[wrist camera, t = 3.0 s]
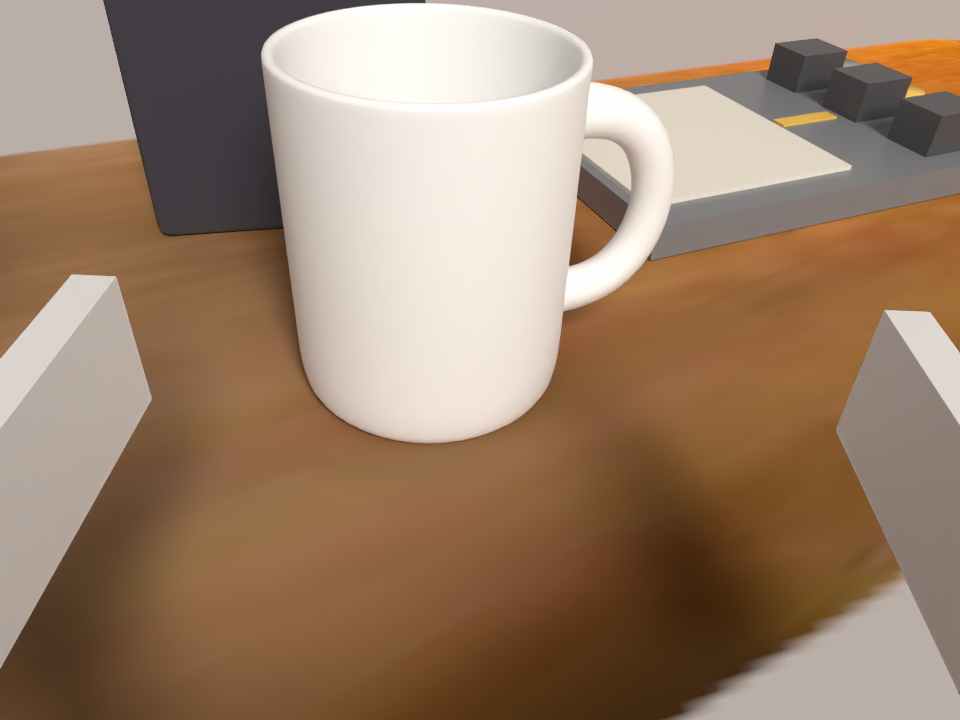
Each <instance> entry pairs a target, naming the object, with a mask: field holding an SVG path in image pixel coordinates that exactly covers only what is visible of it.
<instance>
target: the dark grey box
mask: <svg viewBox="0 0 960 720" xmlns="http://www.w3.org/2000/svg"><path fill="white" fill-rule="evenodd" d="M103 1H104V5H105V9H106V13H107V18H108V22H109V26H110V30H111V34H112V38H113V42H114V46H115V51H116V54H117V59H118V63H119V67H120V71H121V75H122V80H123V84H124V88H125V92H126V96H127V100H128V104H129V108H130V112H131V117H132V121H133V125H134V129H135V133H136V137H137V141H138V145H139V150H140V154H141V158H142V162H143V166H144V170H145V174H146V178H147V182H148V187H149V191H150V195H151V199H152V203H153V207H154V211H155V215H156V220H157V223H158V227H159V229H160V230H161V231H162V232H163V233H164V234H166V235H189V234H203V233H217V232H230V231H244V230H258V229H272V228H284V227H283V220H282V212H281V205H280V197H279V190H278V182H277V175H276V167H275V160H274V152H273V145H272V137H271V130H270V122H269V115H268V107H267V100H266V92H265V85H264V77H263V69H262V62H261V52H262V48H263V46H264V43H265V42H266V40H267V39H268V38H269V37H270V36H271V35H272V34H273V33H275V32H276V31H277V30H279V29H281V28H283V27H284V26H286V25H288V24H291V23H293V22H296V21H298V20H301V19H304V18H307V17H310V16H314V15H317V14H321V13H325V12H330V11H335V10H341V9H347V8H354V7H361V6H371V5H382V4H402V3H425V0H103Z"/></svg>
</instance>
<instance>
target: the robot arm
mask: <svg viewBox="0 0 960 720" xmlns="http://www.w3.org/2000/svg"><path fill="white" fill-rule="evenodd" d="M151 400H152V397H151V394H150V390H149V387H148V384H147V380H146V377H145V373H144V370H143V367H142V363H141V360H140V356H139V353H138V349H137V346H136V343H135V339H134V336H133V332H132V329H131V326H130V322H129V319H128V315H127V312H126V308H125V305H124V302H123V298H122V295H121V291H120V288H119V285H118V281H117V278H116V276H93V275H71V276H70V277H69V279H68V280H67V281H66V282H65V283H64V284H63V286H62V287H61V288H60V289H59V290H58V292H57V293H56V294H55V295H54V296H53V297H52V299H51V300H50V301H49V302H48V303H47V304H46V306H45V307H44V308H43V309H42V310H41V312H40V313H39V314H38V315H37V316H36V317H35V319H34V320H33V321H32V322H31V323H30V325H29V326H28V327H27V328H26V329H25V330H24V332H23V333H22V334H21V335H20V336H19V338H18V339H17V340H16V341H15V342H14V343H13V345H12V346H11V347H10V348H9V349H8V350H7V352H6V353H5V354H4V355H3V356H2V358H1V359H0V668H1V667H2V665H3V663H4V661H5V660H6V658H7V656H8V654H9V652H10V651H11V649H12V647H13V645H14V644H15V642H16V640H17V638H18V636H19V635H20V633H21V631H22V629H23V628H24V626H25V624H26V622H27V620H28V619H29V617H30V615H31V613H32V611H33V610H34V608H35V606H36V604H37V603H38V601H39V599H40V597H41V595H42V594H43V592H44V590H45V588H46V587H47V585H48V583H49V581H50V579H51V578H52V576H53V574H54V572H55V571H56V569H57V567H58V565H59V563H60V562H61V560H62V558H63V556H64V555H65V553H66V551H67V549H68V547H69V546H70V544H71V542H72V540H73V539H74V537H75V535H76V533H77V531H78V530H79V528H80V526H81V524H82V523H83V521H84V519H85V517H86V515H87V514H88V512H89V510H90V508H91V507H92V505H93V503H94V501H95V499H96V498H97V496H98V494H99V492H100V491H101V489H102V487H103V485H104V483H105V482H106V480H107V478H108V476H109V475H110V473H111V471H112V469H113V467H114V466H115V464H116V462H117V460H118V459H119V457H120V455H121V453H122V451H123V450H124V448H125V446H126V444H127V442H128V441H129V439H130V437H131V435H132V434H133V432H134V430H135V428H136V426H137V425H138V423H139V421H140V419H141V418H142V416H143V414H144V412H145V410H146V409H147V407H148V405H149V403H150V402H151ZM836 432H837V434H838V436H839V439H840V441H841V443H842V445H843V447H844V449H845V451H846V453H847V456H848V458H849V460H850V462H851V464H852V466H853V468H854V471H855V473H856V475H857V477H858V479H859V481H860V483H861V485H862V488H863V490H864V492H865V494H866V496H867V498H868V500H869V503H870V505H871V507H872V509H873V511H874V513H875V515H876V518H877V520H878V522H879V524H880V526H881V528H882V530H883V532H884V535H885V537H886V539H887V541H888V543H889V545H890V547H891V550H892V552H893V554H894V556H895V558H896V560H897V562H898V565H899V567H900V569H901V571H902V573H903V575H904V577H905V579H906V582H907V584H908V586H909V588H910V590H911V592H912V594H913V597H914V599H915V601H916V603H917V605H918V607H919V609H920V611H921V613H922V616H923V618H924V620H925V622H926V624H927V626H928V628H929V630H930V633H931V635H932V637H933V639H934V641H935V644H936V646H937V648H938V650H939V652H940V654H941V656H942V658H943V660H944V663H945V665H946V667H947V669H948V671H949V673H950V676H951V678H952V679H953V682H954V684H955V686H956V688H957V690H958V693H959V695H960V353H959V351H958V350H957V349H956V347H955V346H954V344H953V343H952V342H951V340H950V339H949V338H948V336H947V335H946V334H945V332H944V331H943V329H942V328H941V327H940V325H939V324H938V323H937V321H936V320H935V319H934V317H933V316H932V314H931V313H930V312H916V311H894V310H884V312H883V315H882V317H881V320H880V322H879V325H878V327H877V329H876V332H875V334H874V337H873V339H872V342H871V344H870V347H869V349H868V352H867V354H866V356H865V359H864V361H863V364H862V366H861V369H860V371H859V374H858V376H857V379H856V381H855V384H854V386H853V388H852V391H851V393H850V396H849V398H848V401H847V403H846V406H845V408H844V411H843V413H842V416H841V418H840V420H839V423H838V425H837V428H836Z"/></svg>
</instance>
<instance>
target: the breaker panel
mask: <svg viewBox="0 0 960 720" xmlns="http://www.w3.org/2000/svg"><path fill="white" fill-rule="evenodd" d="M847 52H848V51H846V50H844V49H842V48H839V47H837V46H834V45H832V44H829V43H827V42H824V41H822V40H820V39H808V40H799V41H790V42H782V43H775V47H774V51H773V55H772V59H771V63H770V67H769V70H763V71H755V72H747V73H740V74H732V75H724V76H716V77H709V78H701V79H693V80H685V81H678V82H670V83H662V84H654V85H647V86H639V87H631V88H623V90H626V91H628V92H631V93H633V94H634V95H636V96H637V97H639V98H640V99H642V100H643V101H645V102H646V103H647V105H648V106H649V107H650V108H651V109H652V110H653V111H654V112H655V113H656V114H657V116H658V117H659V119H660V121H661V122H662V124H663V126H664V128H665V129H666V131H667V133H668V136H669V139H670V142H671V145H672V149H673V156H674V163H675V177H674V189H673V196H672V203H671V207H670V210H669V214H668V217H667V221H666V223H665V226H664V228H663V231H662V233H661V235H660V238H659V239H658V241H657V243H656V245H655V247H654V248H653V250H652V252H651V253H650V255H649V256H648V259H649V260H655V259H660V258H664V257H669V256H673V255H678V254H683V253H687V252H692V251H696V250H701V249H705V248H710V247H715V246H719V245H724V244H728V243H733V242H738V241H742V240H747V239H751V238H756V237H761V236H765V235H770V234H774V233H779V232H784V231H788V230H793V229H797V228H802V227H807V226H811V225H816V224H820V223H825V222H830V221H834V220H839V219H843V218H848V217H853V216H857V215H862V214H866V213H871V212H876V211H880V210H885V209H889V208H894V207H899V206H903V205H908V204H912V203H917V202H922V201H926V200H931V199H935V198H940V197H944V196H949V195H954V194H958V193H960V97H959V96H957V95H954V94H952V93H949V92H947V91H945V92H939V93H932V94H926V95H924V94H925V91H924V90H922V89H920V88H918V87H915V86H911V85H910V83H911V80H912V77H910V76H908V75H905V74H903V73H900V72H898V71H895V70H893V69H890V68H888V67H886V66H883V65H881V64H878V63H872V64H864V65H861V64H860V63H858V62H856V61H852V60H848V59H845V58H846V55H847ZM630 195H631V170H630V165H629V161H628V159H627V156H626V153H625V152H624V150H623V149H622V148H621V147H620V146H619V145H618V144H616V143H614V142H613V141H610V140H606V139H598V138H592V139H584V142H583V150H582V158H581V166H580V174H579V182H578V191H577V197H579V198H580V199H581V200H582V201H583V202H584V203H585V204H587V205H588V206H589V207H590V208H591V209H592V210H593V211H595V212H596V213H597V214H598V215H599V216H600V217H601V218H603V219H604V220H605V221H606V222H607V223H608V224H609V225H611V226H612V227H613V228H614V229H615V230H616V231H617V230H618V228H619V226H620V224H621V222H622V220H623V218H624V216H625V213H626V210H627V207H628V204H629V199H630Z"/></svg>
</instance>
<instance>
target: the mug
mask: <svg viewBox="0 0 960 720" xmlns="http://www.w3.org/2000/svg"><path fill="white" fill-rule="evenodd" d="M261 62H262V69H263V77H264V85H265V92H266V100H267V107H268V115H269V122H270V130H271V137H272V145H273V152H274V160H275V167H276V175H277V182H278V190H279V197H280V205H281V212H282V220H283V227H284V235H285V242H286V250H287V258H288V265H289V273H290V280H291V288H292V295H293V303H294V310H295V318H296V325H297V333H298V340H299V347H300V353H301V358H302V362H303V366H304V369H305V372H306V375H307V378H308V381H309V383H310V385H311V387H312V389H313V391H314V392H315V394H316V395H317V396H318V398H319V399H320V400H321V401H322V402H323V404H324V405H325V406H326V407H327V408H328V409H329V410H330V411H332V412H333V413H334V414H335V415H336V416H338V417H339V418H341V419H342V420H344V421H345V422H347V423H348V424H351V425H353V426H355V427H357V428H359V429H361V430H363V431H366V432H368V433H371V434H374V435H377V436H380V437H384V438H388V439H392V440H396V441H403V442H410V443H429V444H430V443H448V442H455V441H462V440H466V439H470V438H475V437H478V436H481V435H484V434H487V433H490V432H493V431H495V430H497V429H499V428H501V427H503V426H506V425H508V424H510V423H511V422H513V421H514V420H516V419H518V418H519V417H521V416H522V415H523V414H524V413H526V412H527V411H528V410H529V409H530V408H532V406H533V405H534V404H535V403H536V402H537V401H538V399H539V398H540V397H541V396H542V395H543V393H544V391H545V390H546V388H547V387H548V385H549V382H550V380H551V377H552V374H553V371H554V368H555V364H556V359H557V354H558V348H559V341H560V333H561V325H562V316H563V311H568V310H572V309H576V308H579V307H582V306H585V305H588V304H591V303H593V302H595V301H597V300H599V299H601V298H603V297H605V296H607V295H608V294H610V293H611V292H613V291H615V290H616V289H618V288H619V287H620V286H621V285H622V284H624V283H625V282H626V281H627V280H629V279H630V278H631V277H632V276H633V274H634V273H635V272H636V271H637V270H638V269H639V268H640V267H641V266H642V264H643V263H644V262H645V260H646V259H647V258H648V256H649V255H650V253H651V252H652V250H653V248H654V247H655V245H656V243H657V241H658V239H659V238H660V235H661V233H662V231H663V228H664V226H665V223H666V221H667V217H668V214H669V210H670V207H671V203H672V196H673V189H674V177H675V163H674V156H673V149H672V145H671V142H670V139H669V136H668V133H667V131H666V129H665V128H664V126H663V124H662V122H661V121H660V119H659V117H658V116H657V114H656V113H655V112H654V111H653V110H652V109H651V108H650V107H649V106H648V105H647V103H646V102H645V101H643V100H642V99H640V98H639V97H637V96H636V95H634V94H633V93H631V92H628V91H626V90H623V89H621V88H618V87H615V86H611V85H606V84H602V83H597V82H591V76H592V67H593V58H592V55H591V51H590V49H589V48H588V46H587V45H586V44H585V43H584V42H583V41H582V40H581V39H580V38H578V37H577V36H575V35H574V34H572V33H571V32H569V31H567V30H565V29H563V28H561V27H559V26H556V25H554V24H551V23H548V22H545V21H542V20H539V19H536V18H533V17H528V16H525V15H521V14H517V13H511V12H507V11H502V10H496V9H489V8H482V7H474V6H466V5H453V4H434V3H433V4H432V3H402V4H382V5H371V6H361V7H354V8H347V9H341V10H335V11H330V12H325V13H321V14H317V15H314V16H310V17H307V18H304V19H301V20H298V21H296V22H293V23H291V24H288V25H286V26H284V27H283V28H281V29H279V30H277V31H276V32H275V33H273V34H272V35H271V36H270V37H269V38H268V39H267V40H266V42H265V43H264V46H263V48H262V52H261ZM592 138H598V139H606V140H610V141H613V142H614V143H616V144H618V145H619V146H620V147H621V148H622V149H623V150H624V152H625V153H626V156H627V159H628V161H629V165H630V170H631V195H630V199H629V204H628V207H627V210H626V213H625V216H624V218H623V220H622V222H621V224H620V226H619V228H618V230H617V232H616V233H615V234H614V236H613V237H612V239H611V240H610V241H609V242H608V244H607V245H606V246H605V247H604V248H603V249H602V250H600V251H599V252H598V253H597V254H596V255H594V256H592V257H591V258H589V259H587V260H585V261H583V262H581V263H578V264H575V265H571V266H569V259H570V251H571V243H572V235H573V227H574V218H575V209H576V200H577V191H578V182H579V174H580V166H581V158H582V150H583V142H584V139H592Z"/></svg>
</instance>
